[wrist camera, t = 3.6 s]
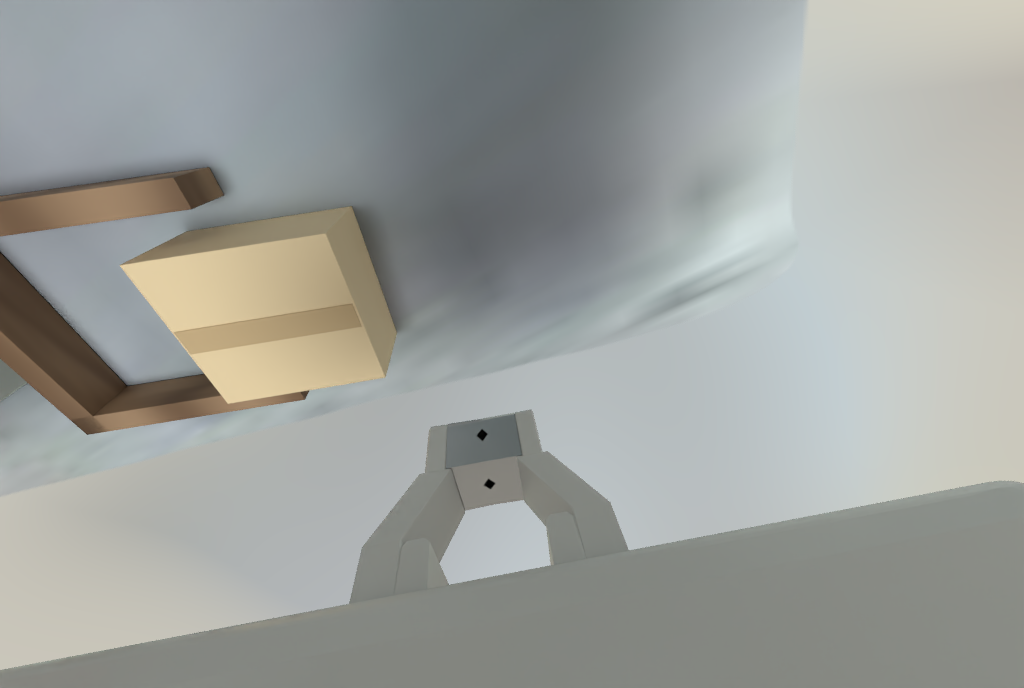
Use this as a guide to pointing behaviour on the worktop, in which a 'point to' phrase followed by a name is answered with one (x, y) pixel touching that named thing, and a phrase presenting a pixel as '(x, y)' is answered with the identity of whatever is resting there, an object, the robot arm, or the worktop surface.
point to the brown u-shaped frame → (59, 349)
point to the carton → (272, 303)
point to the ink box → (9, 381)
